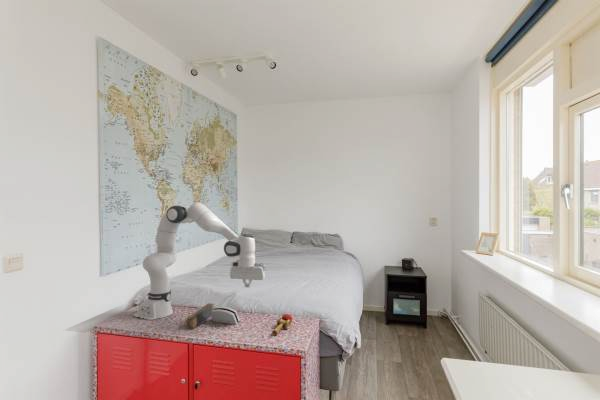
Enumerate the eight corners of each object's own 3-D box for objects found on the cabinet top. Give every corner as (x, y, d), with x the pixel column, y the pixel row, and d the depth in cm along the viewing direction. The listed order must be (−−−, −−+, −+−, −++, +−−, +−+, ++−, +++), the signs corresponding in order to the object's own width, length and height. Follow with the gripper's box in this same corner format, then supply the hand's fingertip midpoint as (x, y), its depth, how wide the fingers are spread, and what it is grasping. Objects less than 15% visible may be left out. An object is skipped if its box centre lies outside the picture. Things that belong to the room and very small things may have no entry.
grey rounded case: (241, 321, 175) (238, 307, 172) (237, 327, 171) (233, 312, 168) (216, 317, 181) (213, 303, 178) (212, 323, 177) (208, 309, 173)
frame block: (186, 328, 165) (186, 318, 165) (208, 312, 188) (208, 303, 188) (193, 329, 164) (193, 318, 164) (214, 313, 188) (214, 303, 188)
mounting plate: (197, 326, 168) (197, 314, 168) (211, 315, 184) (211, 304, 184) (197, 326, 168) (197, 314, 168) (211, 315, 184) (211, 304, 184)
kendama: (283, 339, 155) (296, 321, 172) (280, 327, 155) (293, 311, 171) (270, 339, 158) (284, 322, 175) (267, 328, 158) (281, 311, 174)
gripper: (266, 262, 173) (266, 286, 173) (233, 261, 177) (233, 284, 177) (263, 264, 167) (263, 289, 166) (228, 263, 171) (228, 287, 171)
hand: (247, 286), depth 172 cm, fingers closed
